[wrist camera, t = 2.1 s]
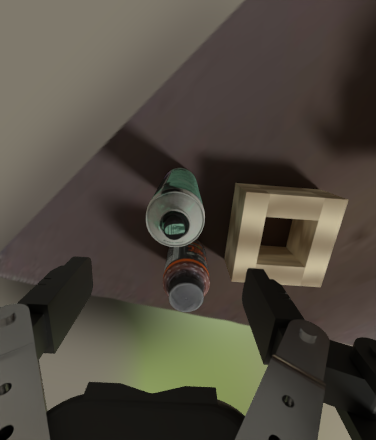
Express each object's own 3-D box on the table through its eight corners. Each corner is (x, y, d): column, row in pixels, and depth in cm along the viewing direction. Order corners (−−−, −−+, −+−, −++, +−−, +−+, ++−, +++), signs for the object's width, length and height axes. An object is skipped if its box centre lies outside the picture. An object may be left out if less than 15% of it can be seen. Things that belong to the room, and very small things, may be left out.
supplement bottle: (212, 247, 41) (224, 293, 28) (191, 274, 42) (193, 328, 30) (181, 227, 39) (179, 266, 27) (160, 256, 41) (150, 305, 29)
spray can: (156, 179, 36) (124, 221, 18) (184, 160, 36) (183, 182, 17) (175, 207, 38) (165, 272, 19) (203, 189, 37) (221, 240, 18)
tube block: (235, 182, 37) (246, 192, 30) (319, 189, 37) (348, 199, 31) (224, 259, 41) (231, 281, 35) (299, 263, 42) (320, 287, 35)
